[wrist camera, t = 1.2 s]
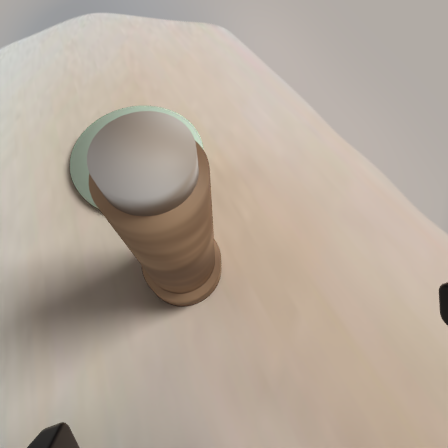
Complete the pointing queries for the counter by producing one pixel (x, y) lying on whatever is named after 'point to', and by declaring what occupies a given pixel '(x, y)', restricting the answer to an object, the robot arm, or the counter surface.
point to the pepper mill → (158, 202)
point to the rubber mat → (82, 145)
